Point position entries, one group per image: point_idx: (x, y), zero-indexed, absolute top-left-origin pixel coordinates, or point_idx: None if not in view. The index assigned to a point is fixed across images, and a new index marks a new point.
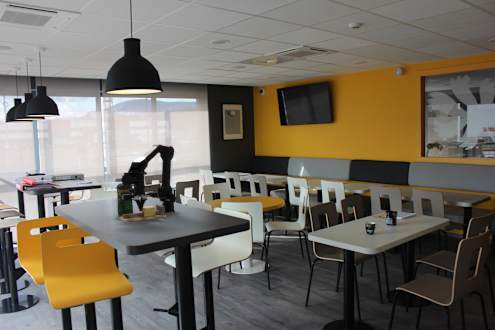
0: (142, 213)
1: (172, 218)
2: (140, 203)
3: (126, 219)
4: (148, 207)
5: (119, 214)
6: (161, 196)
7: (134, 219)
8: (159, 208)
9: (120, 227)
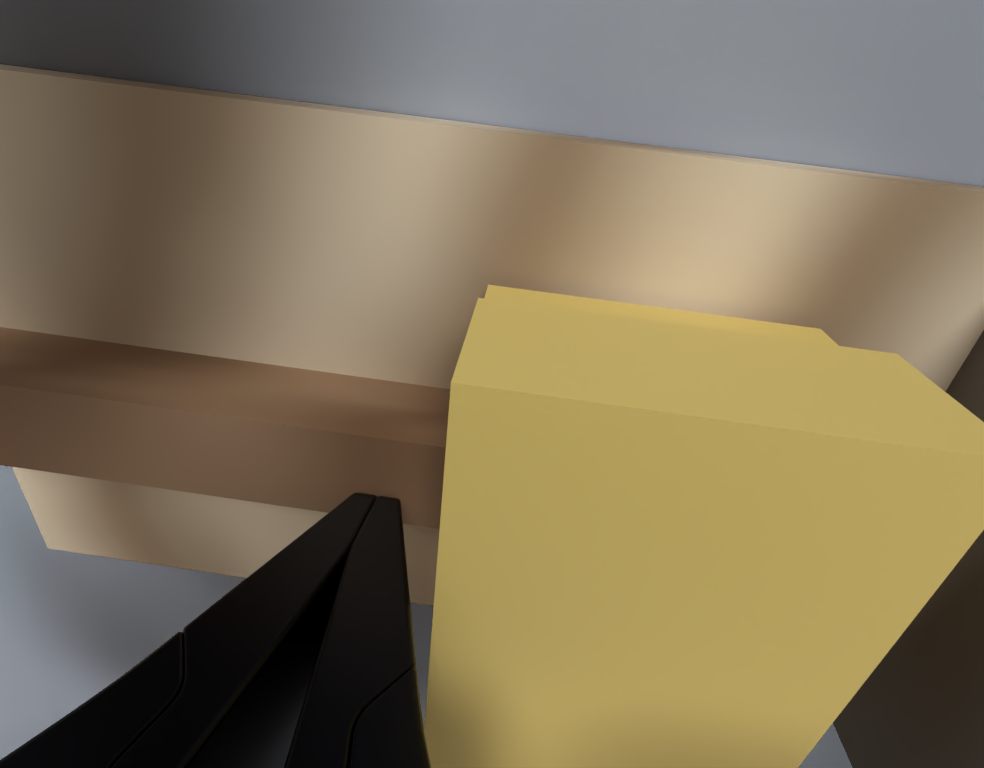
0: (430, 518)
1: (829, 746)
2: (293, 763)
3: (82, 506)
4: (607, 710)
5: None
6: None
7: (236, 571)
8: (950, 704)
9: (54, 721)
